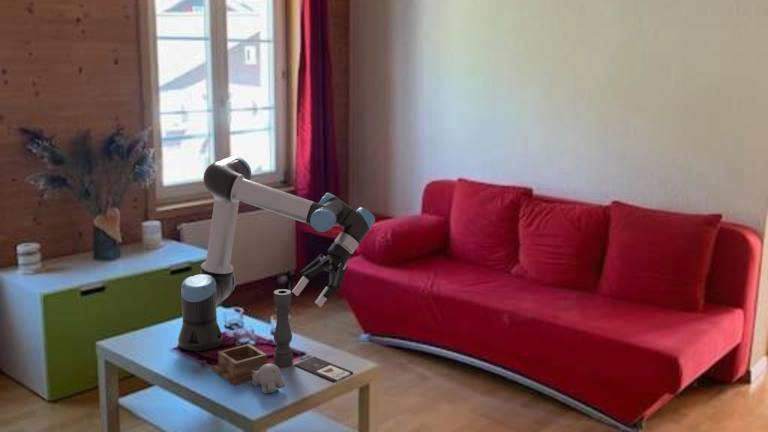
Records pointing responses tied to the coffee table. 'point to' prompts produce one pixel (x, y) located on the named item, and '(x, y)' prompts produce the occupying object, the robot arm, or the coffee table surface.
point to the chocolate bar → (324, 369)
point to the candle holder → (282, 329)
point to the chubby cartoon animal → (268, 378)
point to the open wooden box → (239, 363)
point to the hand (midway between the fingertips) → (306, 299)
